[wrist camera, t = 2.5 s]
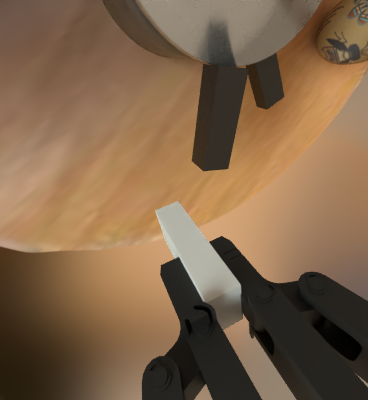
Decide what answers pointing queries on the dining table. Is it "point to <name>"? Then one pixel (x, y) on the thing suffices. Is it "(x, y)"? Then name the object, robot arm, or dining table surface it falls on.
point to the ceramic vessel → (344, 33)
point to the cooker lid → (225, 56)
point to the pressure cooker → (154, 42)
